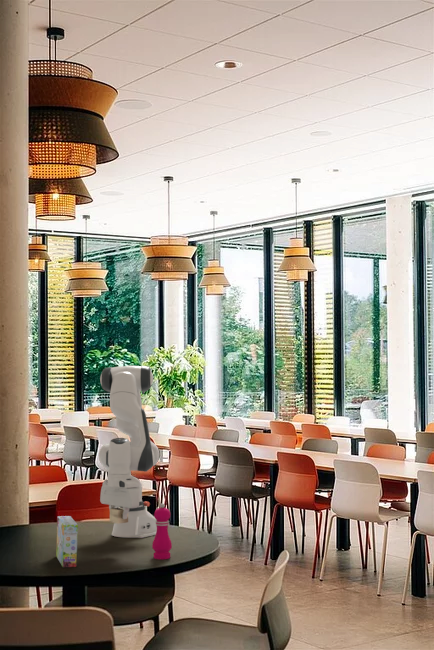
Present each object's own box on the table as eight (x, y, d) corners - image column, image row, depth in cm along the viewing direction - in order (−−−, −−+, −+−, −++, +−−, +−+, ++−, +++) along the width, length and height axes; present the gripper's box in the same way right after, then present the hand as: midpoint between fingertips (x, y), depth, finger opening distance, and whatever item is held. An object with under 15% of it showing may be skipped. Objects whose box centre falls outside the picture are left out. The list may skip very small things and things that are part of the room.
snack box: (78, 567, 321) (78, 524, 322) (62, 568, 319) (62, 524, 320) (70, 555, 341) (70, 515, 342) (55, 556, 340) (55, 515, 341)
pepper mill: (156, 560, 333) (157, 505, 334) (149, 556, 339) (149, 502, 340) (174, 558, 336) (175, 504, 337) (166, 555, 343) (167, 501, 344)
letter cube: (120, 520, 350) (120, 507, 351) (128, 522, 347) (128, 508, 347) (109, 522, 347) (109, 508, 347) (117, 523, 343) (117, 509, 344)
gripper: (96, 479, 353) (96, 515, 352) (129, 484, 338) (128, 521, 337) (109, 478, 357) (109, 514, 357) (142, 482, 343) (142, 520, 342)
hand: (119, 517), depth 347 cm, fingers closed on letter cube, 5 cm apart
